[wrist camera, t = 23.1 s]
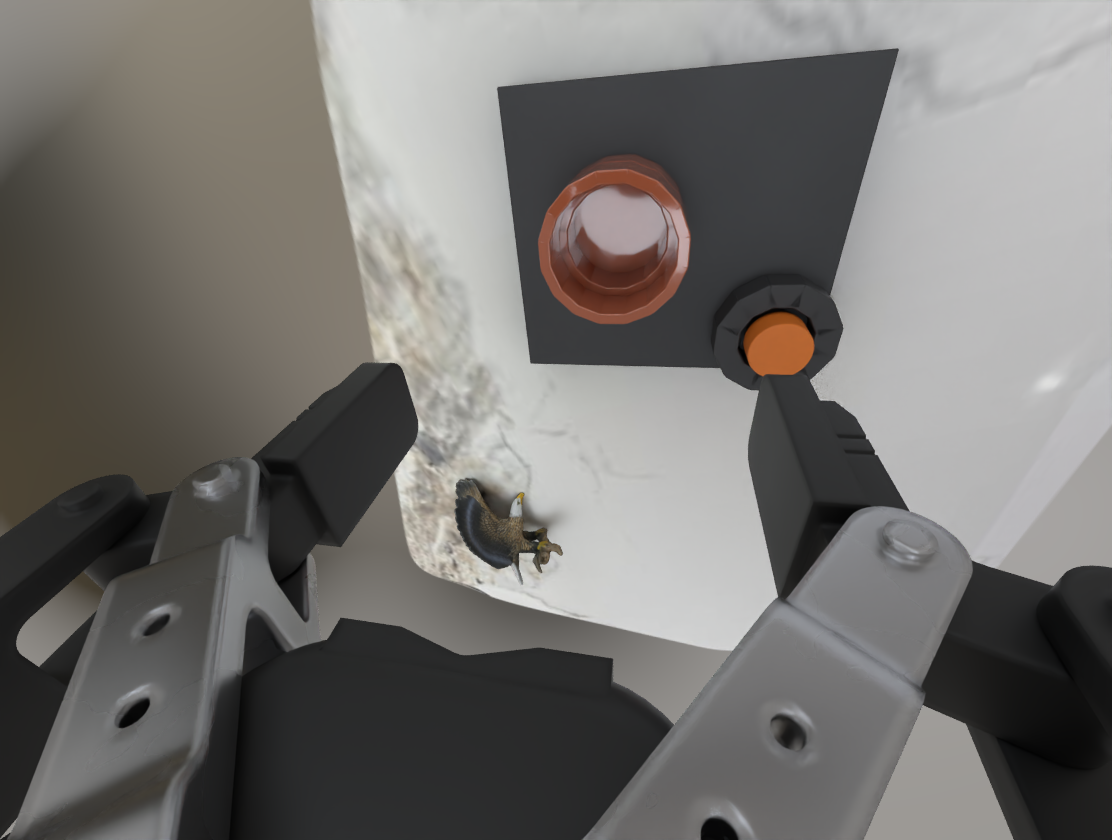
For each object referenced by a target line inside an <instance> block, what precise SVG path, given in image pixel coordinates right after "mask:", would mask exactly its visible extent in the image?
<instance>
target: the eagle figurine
mask: <svg viewBox="0 0 1112 840" xmlns="http://www.w3.org/2000/svg"><path fill="white" fill-rule="evenodd" d="M456 487H457V490H456V494H457V496H458V499H456V500H455V503H456V507H457V508H456V509H455V510H454V512H455V515H456V517H455V520H456V522H457V523H458V525H457V529H458V530H459V531H460V535H461V536H462V538H463V541H464V542H465V543H466V546H467V547H469V550H470V551H471V552H473V554H475V555H477V556H478V557H479V558H480V559H481V560H483V561H484V562H486V563H488V564H489V565H491V566H492V567H495V568H496V569H501V568H505V567H508V566H509V565H510V566H512V568H513V571H514V573H515V575H516V577H517V579H518V581H519V583H520V584H521V585H523V580H522V576H521V573H520V570H519V553H534V554H536V555H535V557H534V558H533V563H534V564H535V566H536V568H537V570H538V571H539V572H540V573H542V570H541V567H540V564H547V563H548V561H549V558H550V552H551V551H554V552H557V554H559V555H560V556H561V555H563V552H562V549H561V547H560V546H559V545H557V544H554V543H553V544H552V543H551V542H549V540H548V538H547V529H545V528H542V529H539V530H537V531H533V532H528V531H523V514H522V499H523V496H524V493H520V494H519V495H518V497H517V498H516V499H515V500H514V501H513V503H512V506H511V510H510V514H509V517H508V518H507V519H505V518H500V517H498V516H497V515H495V514H494V513H493V511H492V510H491V509H490V508H489V506H488V505H487V504H486V502H485V501H484V500H483V497H482V496H481V493H480V491H479V490H478V488H477V485H476V484H475V482H474V481H473V480H470V481H469V480H467V479H465V480H464V481H462V480H459V483H456ZM536 539H537V540H538V541H539V542H535V541H534V540H536ZM532 541H533V542H532Z"/></svg>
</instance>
